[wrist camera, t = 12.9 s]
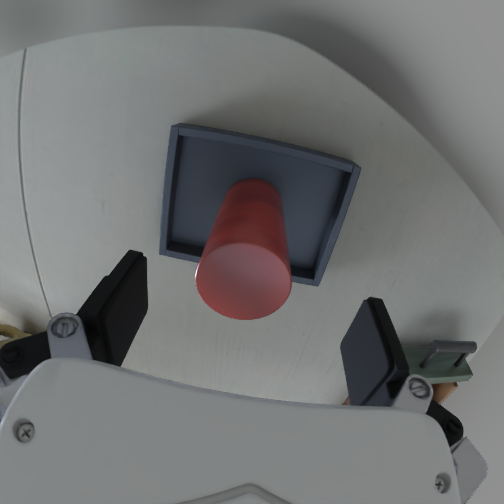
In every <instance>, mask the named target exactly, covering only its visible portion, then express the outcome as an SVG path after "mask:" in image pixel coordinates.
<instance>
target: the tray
mask: <svg viewBox="0 0 504 504" xmlns="http://www.w3.org/2000/svg"><path fill="white" fill-rule="evenodd" d="M360 171H361V167H360V166H358V165H357V164H356V163H355V162H353V161H350V160H347V159H343V158H340V157H337V156H333V155H330V154H326V153H323V152H319V151H316V150H312V149H308V148H304V147H300V146H297V145H293V144H288V143H284V142H280V141H276V140H271V139H267V138H262V137H258V136H253V135H248V134H243V133H238V132H232V131H227V130H221V129H215V128H209V127H203V126H196V125H189V124H182V123H179V124H176V125H173V126H171V132H170V139H169V146H168V154H167V162H166V170H165V180H164V190H163V200H162V213H161V227H160V244H159V254H160V255H164V256H169V257H173V258H178V259H183V260H187V261H192V262H197V263H199V261H200V258H201V255H202V253H203V250H204V248H205V245H206V242H207V240H208V237H209V235H210V232H211V230H212V227H213V225H214V222H215V220H216V217H217V215H218V212H219V210H220V207H221V205H222V203H223V200H224V198H225V195H226V193H227V191H228V190H229V189H230V187H231V186H232V185H234V184H235V183H236V182H238V181H240V180H243V179H246V178H259V179H262V180H265V181H267V182H269V183H270V184H272V185H273V186H274V187H275V188H276V189H277V191H278V192H279V194H280V196H281V200H282V206H283V213H284V220H285V228H286V236H287V244H288V252H289V260H290V268H291V277H292V282H296V283H301V284H307V285H312V286H319V283H320V281H321V279H322V276H323V274H324V271H325V269H326V266H327V264H328V261H329V258H330V256H331V253H332V251H333V248H334V245H335V243H336V240H337V237H338V235H339V232H340V229H341V227H342V224H343V221H344V218H345V215H346V213H347V210H348V207H349V204H350V201H351V198H352V195H353V192H354V189H355V186H356V183H357V180H358V177H359V174H360Z"/></svg>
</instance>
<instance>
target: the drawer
mask: <svg viewBox="0 0 504 504" xmlns="http://www.w3.org/2000/svg"><path fill="white" fill-rule="evenodd" d="M402 349H403V352H404V354H405V357H406V360H407V362H408V365H409V368H410V370H409V373H410V375H411V374H418V375H421V376H423V377H425V378H426V379H427V380H428V381H429V382H430V383H431V385H432V388H433V397H432V399H433V400H434V401H436V402H437V403H438V404H441V403H442V402H443V401H444V400H445V399H446V398H447V397H448V396H449V395H450V394H451V393H452V392H453V391H454V390H455V389H456V388H457V387H458V385H457V383H456V382H460V381H468V380H469V379H470V378H471V377H472V376H473V373H472V371H471V370H470V367H469V365H468V363H467V361H466V360H465V358H466V357H467V356H468V355H469V353H474V352H475V351H476V349H477V344H476V343H475V342H474V341H442V340H434V341H433V342H432V344H431V348H417V347H402Z"/></svg>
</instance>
